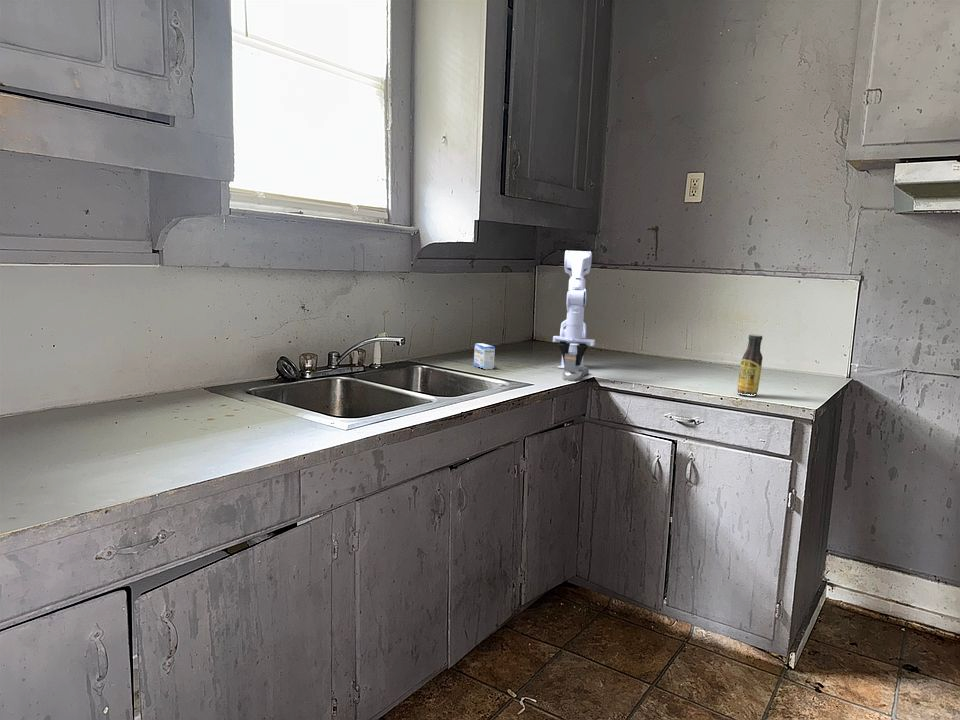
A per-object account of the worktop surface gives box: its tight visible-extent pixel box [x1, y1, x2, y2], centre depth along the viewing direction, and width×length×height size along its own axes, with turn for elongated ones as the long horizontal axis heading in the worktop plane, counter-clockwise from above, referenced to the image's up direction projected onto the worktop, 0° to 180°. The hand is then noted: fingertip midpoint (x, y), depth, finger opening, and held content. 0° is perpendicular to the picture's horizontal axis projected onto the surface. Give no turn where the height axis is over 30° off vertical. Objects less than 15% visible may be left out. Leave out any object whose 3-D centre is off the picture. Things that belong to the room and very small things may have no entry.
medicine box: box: [473, 342, 496, 370], centre depth 244 cm, size 8×4×9 cm, turn 28°
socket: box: [563, 352, 579, 372], centre depth 228 cm, size 4×4×6 cm
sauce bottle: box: [736, 333, 763, 395], centre depth 213 cm, size 7×6×20 cm
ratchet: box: [562, 366, 590, 382], centre depth 234 cm, size 18×6×5 cm, turn 153°
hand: (572, 364), depth 229 cm, fingers closed on socket, 4 cm apart
